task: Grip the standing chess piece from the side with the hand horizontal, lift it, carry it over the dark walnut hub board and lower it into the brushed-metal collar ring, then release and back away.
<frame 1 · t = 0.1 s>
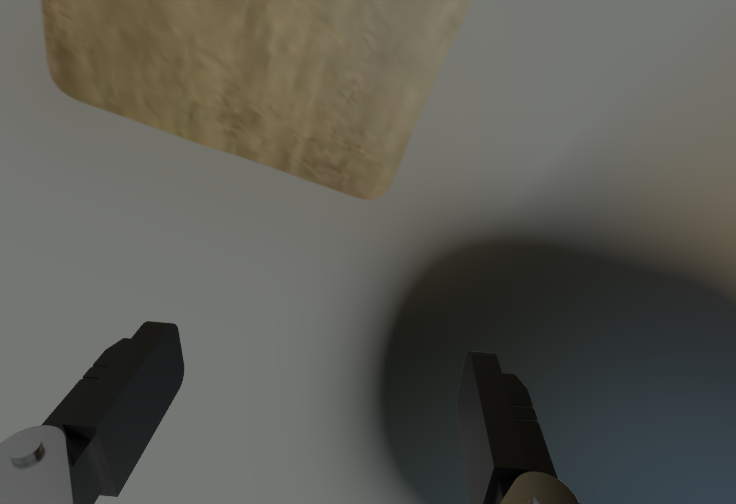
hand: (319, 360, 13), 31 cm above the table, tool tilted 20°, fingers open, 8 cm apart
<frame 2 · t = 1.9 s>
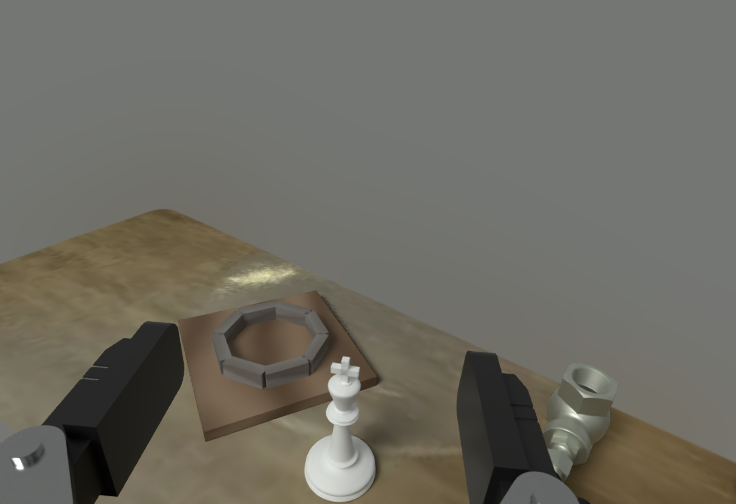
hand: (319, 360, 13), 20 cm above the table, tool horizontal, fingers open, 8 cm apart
hub board: (272, 355, 41), on the table
valve: (549, 482, 32), on the table
chess piece: (340, 470, 32), on the table
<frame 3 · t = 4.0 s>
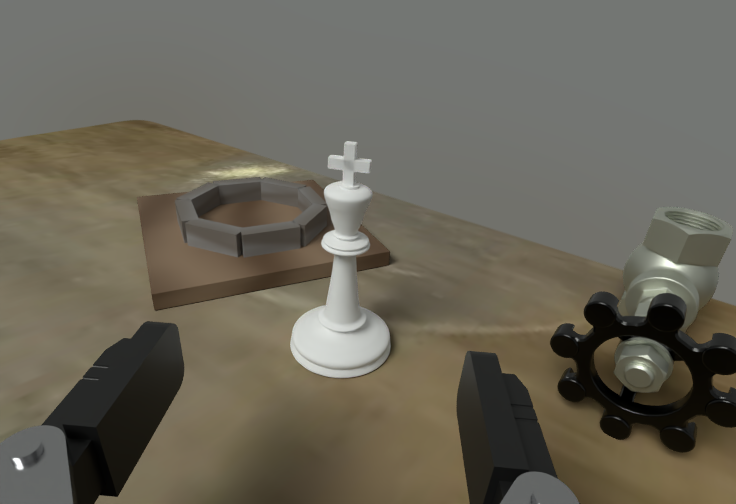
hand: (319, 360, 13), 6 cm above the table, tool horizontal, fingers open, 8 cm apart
hub board: (254, 234, 32), on the table
valve: (633, 365, 23), on the table
chess piece: (340, 346, 23), on the table
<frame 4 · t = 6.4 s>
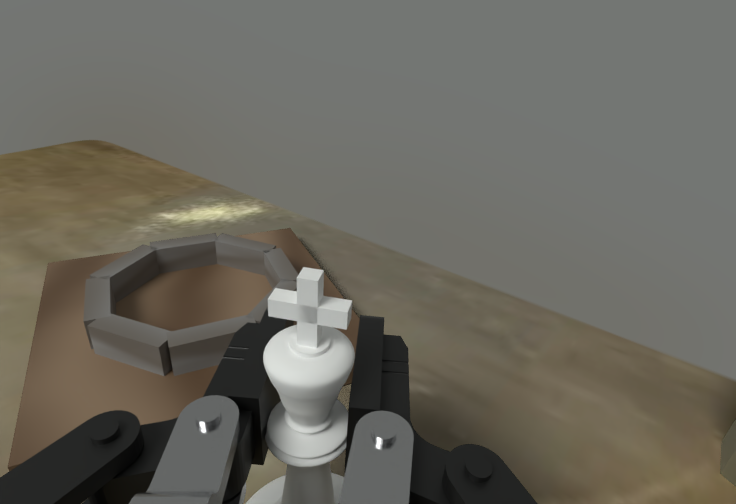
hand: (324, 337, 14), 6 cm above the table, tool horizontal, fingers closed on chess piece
hub board: (202, 320, 24), on the table
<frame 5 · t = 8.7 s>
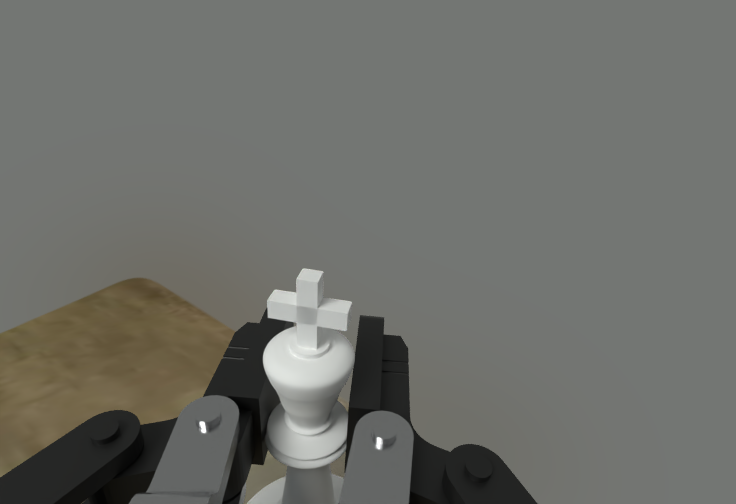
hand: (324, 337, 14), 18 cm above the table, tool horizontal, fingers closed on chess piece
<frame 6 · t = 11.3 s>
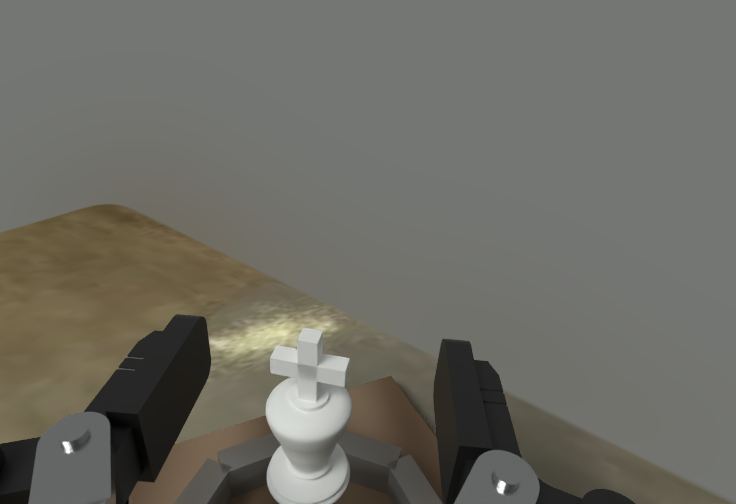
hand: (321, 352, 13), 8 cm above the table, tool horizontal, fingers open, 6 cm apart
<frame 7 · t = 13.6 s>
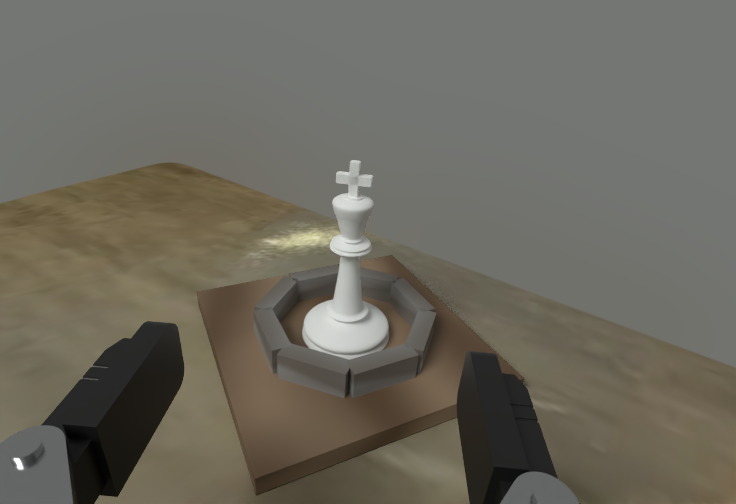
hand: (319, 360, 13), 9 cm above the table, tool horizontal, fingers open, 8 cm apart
hub board: (344, 344, 27), on the table
chess piece: (345, 335, 26), point 1 cm above the table, touching hub board
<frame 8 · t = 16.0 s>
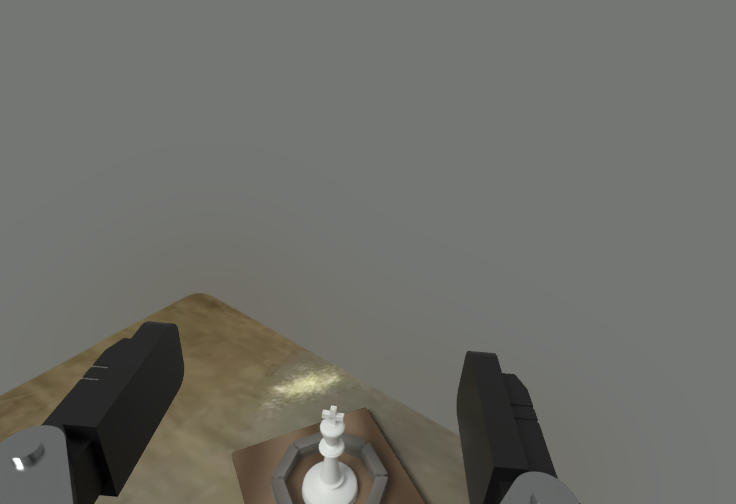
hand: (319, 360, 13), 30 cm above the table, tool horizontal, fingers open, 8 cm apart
hub board: (329, 494, 41), on the table
chess piece: (329, 490, 41), point 1 cm above the table, touching hub board
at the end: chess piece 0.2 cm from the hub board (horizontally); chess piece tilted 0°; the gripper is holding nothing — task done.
